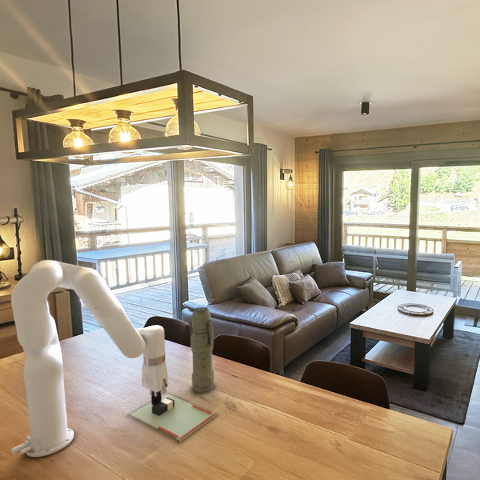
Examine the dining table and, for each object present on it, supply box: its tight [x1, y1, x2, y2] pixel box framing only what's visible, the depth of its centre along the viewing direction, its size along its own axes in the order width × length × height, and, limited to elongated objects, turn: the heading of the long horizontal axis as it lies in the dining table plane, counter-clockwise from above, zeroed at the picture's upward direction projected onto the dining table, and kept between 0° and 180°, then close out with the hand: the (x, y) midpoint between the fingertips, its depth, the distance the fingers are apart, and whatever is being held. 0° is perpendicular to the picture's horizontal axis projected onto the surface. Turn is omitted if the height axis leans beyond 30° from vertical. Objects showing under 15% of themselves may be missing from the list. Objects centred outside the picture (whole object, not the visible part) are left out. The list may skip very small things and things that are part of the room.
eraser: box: [152, 397, 175, 416], centre depth 132 cm, size 7×4×3 cm, turn 153°
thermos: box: [189, 306, 215, 394], centre depth 146 cm, size 9×12×35 cm
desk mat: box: [130, 393, 217, 442], centre depth 129 cm, size 16×28×1 cm, turn 61°
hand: (156, 403), depth 133 cm, fingers closed
